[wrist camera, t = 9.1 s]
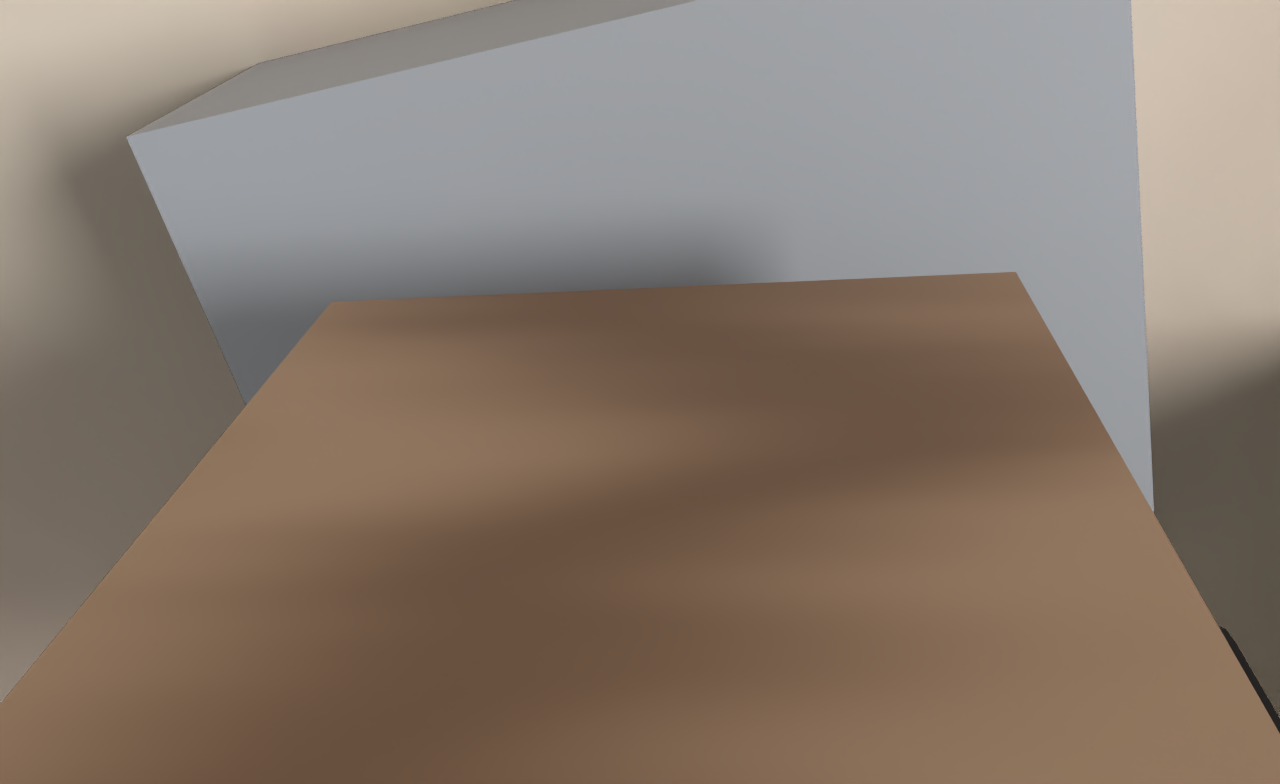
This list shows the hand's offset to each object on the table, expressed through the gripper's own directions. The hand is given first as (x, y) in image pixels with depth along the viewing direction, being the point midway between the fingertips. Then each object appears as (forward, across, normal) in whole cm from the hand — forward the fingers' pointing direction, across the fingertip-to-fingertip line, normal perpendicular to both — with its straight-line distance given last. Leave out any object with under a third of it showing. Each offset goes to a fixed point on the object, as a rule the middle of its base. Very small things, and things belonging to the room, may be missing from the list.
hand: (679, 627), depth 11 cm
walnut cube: (+1, 0, 0) cm, 1 cm away
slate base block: (+7, 0, 0) cm, 7 cm away
